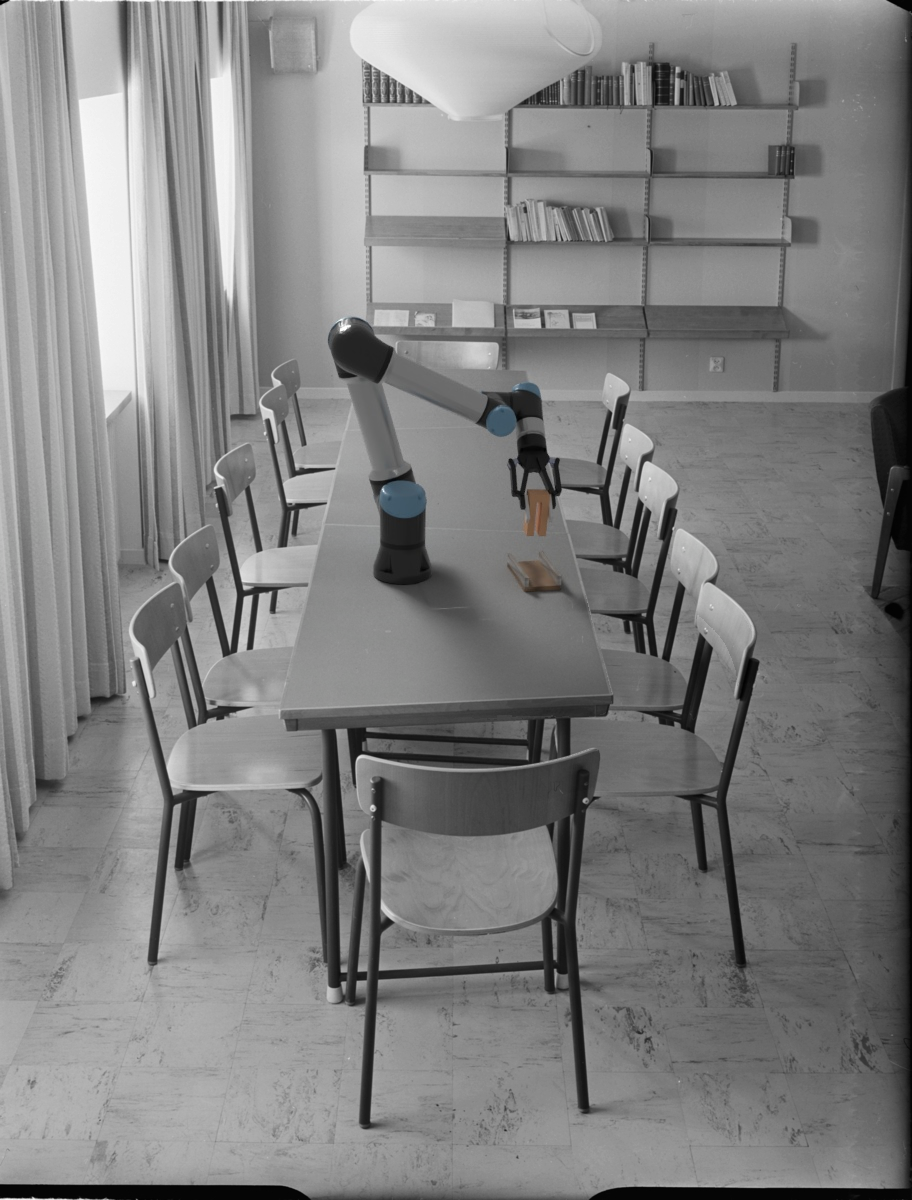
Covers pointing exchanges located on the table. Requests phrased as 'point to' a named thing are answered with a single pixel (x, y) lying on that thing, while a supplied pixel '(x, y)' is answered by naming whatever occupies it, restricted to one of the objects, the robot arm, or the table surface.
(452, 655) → the table surface
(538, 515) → the clip
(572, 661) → the table surface
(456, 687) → the table surface
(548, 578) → the rail
